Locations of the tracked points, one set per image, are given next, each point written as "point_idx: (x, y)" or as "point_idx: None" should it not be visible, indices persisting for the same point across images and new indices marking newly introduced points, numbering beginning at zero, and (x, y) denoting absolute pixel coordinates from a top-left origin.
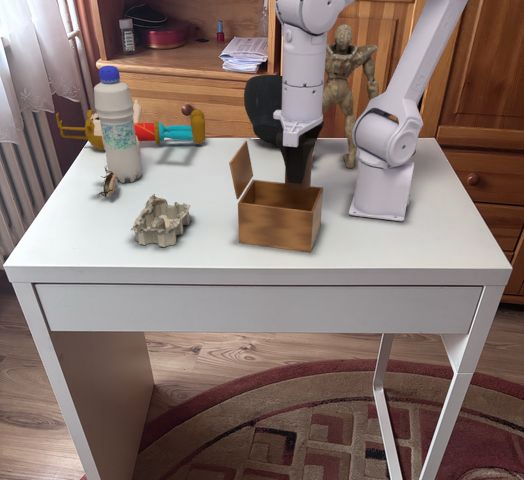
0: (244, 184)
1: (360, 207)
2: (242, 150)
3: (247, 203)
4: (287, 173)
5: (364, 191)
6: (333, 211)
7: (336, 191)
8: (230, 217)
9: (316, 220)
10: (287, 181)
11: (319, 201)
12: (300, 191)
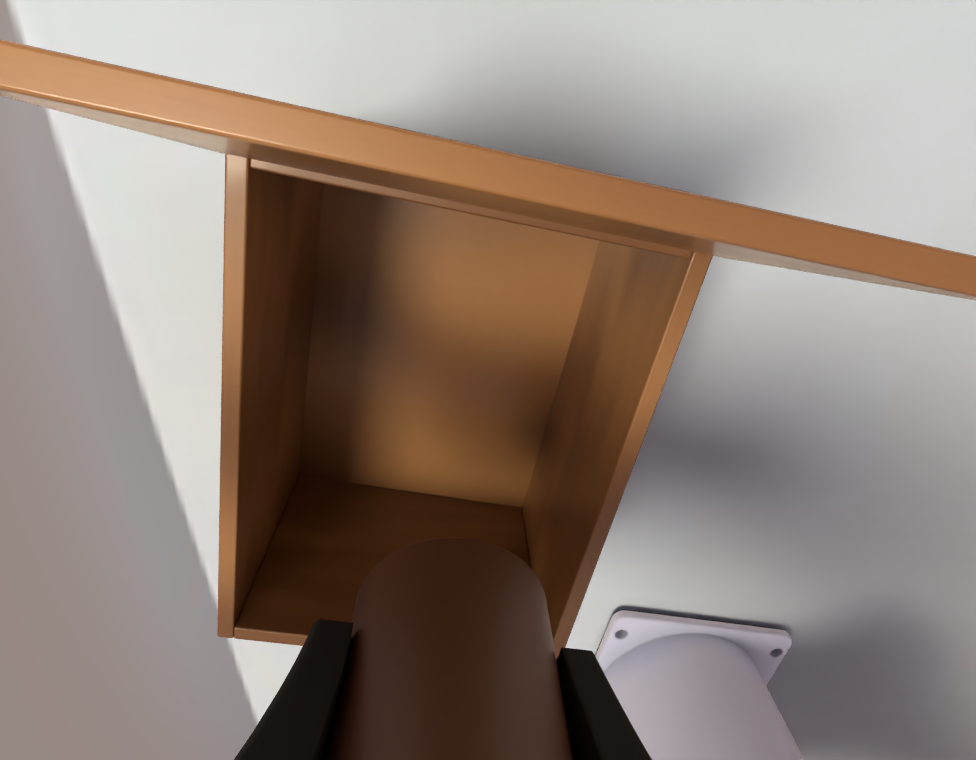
0: (454, 200)
1: (633, 664)
2: (709, 241)
3: (245, 230)
4: (281, 686)
5: (647, 744)
6: (659, 556)
7: (847, 568)
8: (632, 31)
9: None
10: (382, 593)
11: None
12: (572, 543)
